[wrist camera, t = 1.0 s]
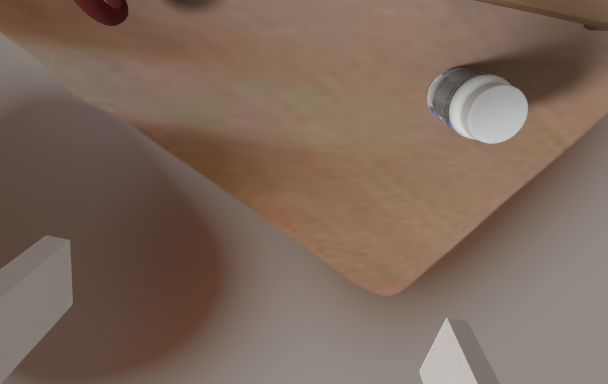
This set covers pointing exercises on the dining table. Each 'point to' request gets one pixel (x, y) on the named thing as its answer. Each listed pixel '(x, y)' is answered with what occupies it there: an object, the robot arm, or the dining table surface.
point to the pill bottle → (477, 104)
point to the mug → (105, 10)
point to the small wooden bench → (564, 10)
